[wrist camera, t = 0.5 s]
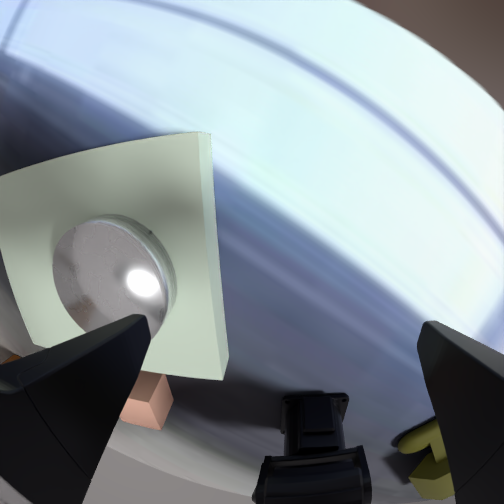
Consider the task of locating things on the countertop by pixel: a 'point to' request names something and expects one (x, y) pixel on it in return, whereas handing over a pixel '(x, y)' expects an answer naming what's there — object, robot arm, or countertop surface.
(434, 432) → the spaceship
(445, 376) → the robot arm
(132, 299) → the metal puck
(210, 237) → the pocket deck
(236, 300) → the countertop surface
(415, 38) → the countertop surface
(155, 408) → the terracotta cube
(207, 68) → the countertop surface
